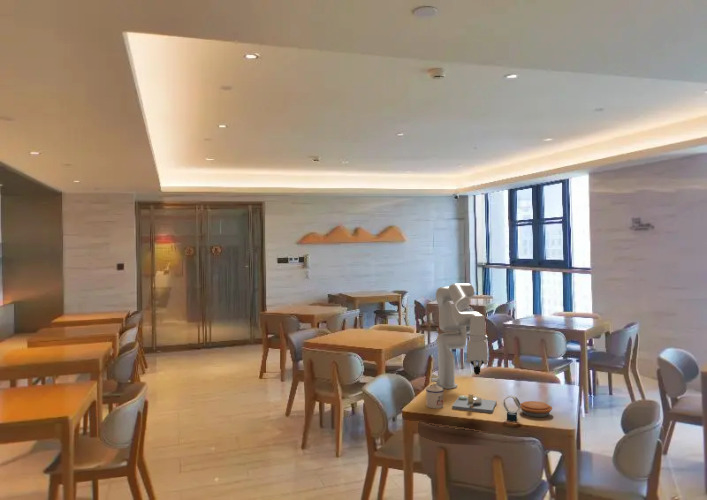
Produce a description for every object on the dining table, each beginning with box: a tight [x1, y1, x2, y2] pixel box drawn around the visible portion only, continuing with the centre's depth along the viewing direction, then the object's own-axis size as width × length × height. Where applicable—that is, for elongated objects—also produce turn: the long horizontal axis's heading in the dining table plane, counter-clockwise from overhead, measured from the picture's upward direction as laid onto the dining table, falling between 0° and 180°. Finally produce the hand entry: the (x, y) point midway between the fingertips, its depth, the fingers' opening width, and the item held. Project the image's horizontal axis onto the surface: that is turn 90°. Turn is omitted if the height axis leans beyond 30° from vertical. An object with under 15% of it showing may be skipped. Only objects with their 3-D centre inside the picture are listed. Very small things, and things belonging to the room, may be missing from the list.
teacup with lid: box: [425, 382, 444, 409], centre depth 274 cm, size 12×9×12 cm
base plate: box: [451, 395, 497, 414], centre depth 272 cm, size 20×18×3 cm
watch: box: [502, 395, 521, 422], centre depth 251 cm, size 6×8×11 cm
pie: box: [520, 400, 553, 418], centre depth 259 cm, size 16×16×5 cm
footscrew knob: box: [467, 393, 483, 406], centre depth 270 cm, size 13×7×6 cm, turn 154°
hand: (477, 374), depth 268 cm, fingers closed
